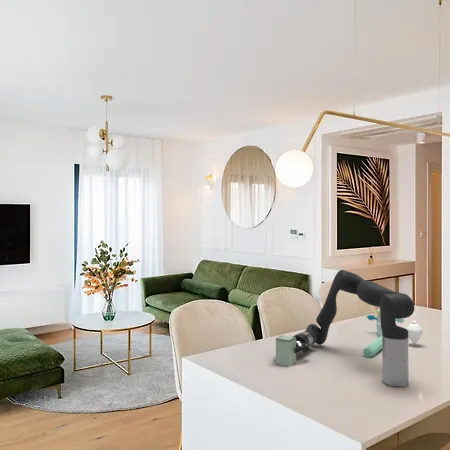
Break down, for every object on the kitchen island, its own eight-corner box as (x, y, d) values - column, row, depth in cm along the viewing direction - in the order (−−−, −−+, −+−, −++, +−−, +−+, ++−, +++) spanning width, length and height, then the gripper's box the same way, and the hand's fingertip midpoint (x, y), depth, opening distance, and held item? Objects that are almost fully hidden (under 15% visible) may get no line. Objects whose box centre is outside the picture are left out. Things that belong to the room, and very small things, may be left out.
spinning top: (408, 342, 233) (408, 318, 233) (425, 345, 228) (424, 320, 228) (403, 346, 227) (403, 321, 227) (420, 348, 222) (419, 323, 222)
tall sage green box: (296, 362, 202) (295, 337, 202) (289, 366, 196) (289, 340, 196) (282, 360, 205) (282, 335, 205) (275, 364, 200) (275, 338, 200)
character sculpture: (363, 335, 249) (363, 310, 249) (368, 330, 259) (368, 306, 259) (403, 339, 239) (403, 313, 239) (406, 335, 249) (406, 309, 249)
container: (370, 345, 207) (387, 332, 228) (358, 348, 210) (375, 335, 231) (376, 358, 206) (391, 344, 227) (363, 361, 209) (380, 347, 230)
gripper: (287, 331, 218) (271, 338, 205) (316, 335, 210) (301, 343, 197) (287, 347, 218) (271, 355, 205) (316, 351, 210) (301, 360, 197)
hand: (286, 349), depth 201 cm, fingers open, 8 cm apart
